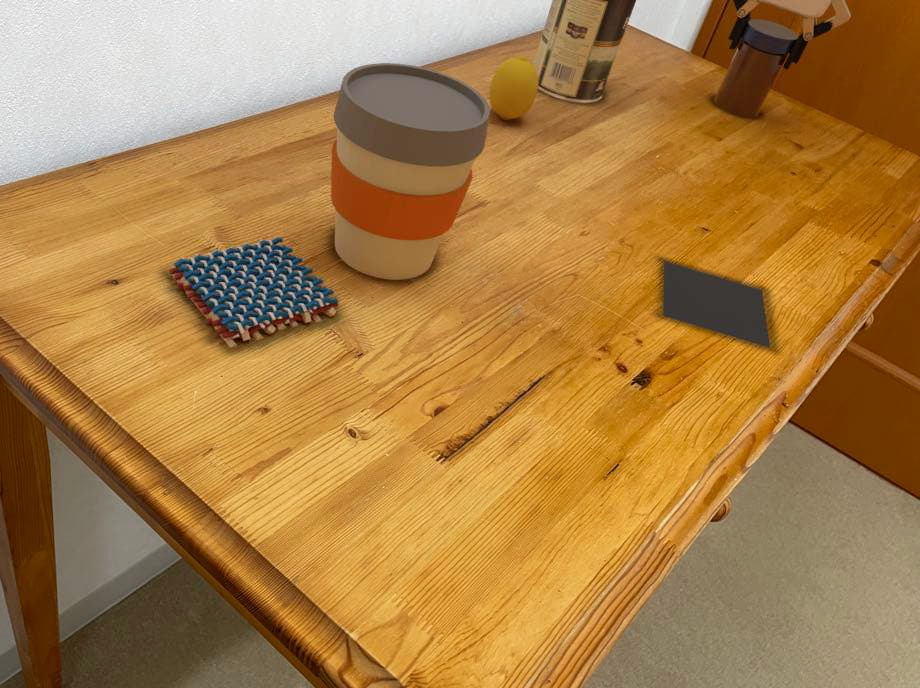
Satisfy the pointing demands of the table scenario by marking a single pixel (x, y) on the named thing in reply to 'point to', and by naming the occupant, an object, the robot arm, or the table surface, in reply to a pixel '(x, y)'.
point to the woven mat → (253, 289)
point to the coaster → (714, 304)
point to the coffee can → (580, 47)
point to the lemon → (514, 88)
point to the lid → (769, 36)
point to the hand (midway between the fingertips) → (760, 55)
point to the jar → (748, 80)
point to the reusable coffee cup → (401, 164)
